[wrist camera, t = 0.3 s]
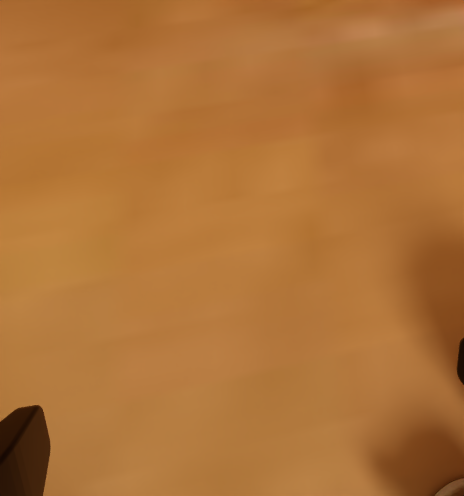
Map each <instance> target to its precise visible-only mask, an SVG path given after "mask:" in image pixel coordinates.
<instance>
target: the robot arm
mask: <svg viewBox="0 0 464 496" xmlns="http://www.w3.org/2000/svg"><path fill="white" fill-rule="evenodd" d="M457 374H458V377H459V379H460V381H461V382H462V383H463V385H464V338H463V339H462V340H461V341H460V344H459V354H458V363H457ZM49 456H50V439H49V434H48V430H47V425H46V421H45V416H44V412H43V409H42V408H41V407H40V406H39V405H34V406H28V407H21V408H18V409H16V410H14V411H13V412H12V413H11V414H9V415H8V416H7V417H6V418H4V419H3V420H2V421H1V422H0V496H43V492H44V486H45V480H46V474H47V468H48V462H49Z"/></svg>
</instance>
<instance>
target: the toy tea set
mask: <svg viewBox="0 0 464 496" xmlns="http://www.w3.org/2000/svg"><path fill="white" fill-rule="evenodd" d="M435 496H464V478H462V479H458V480H455V481H453V482H451V483H449V484H447V485H446V486H444V487H443V488H442V489H441V490H440V491H439V492H438V493H437V494H436V495H435Z"/></svg>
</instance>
